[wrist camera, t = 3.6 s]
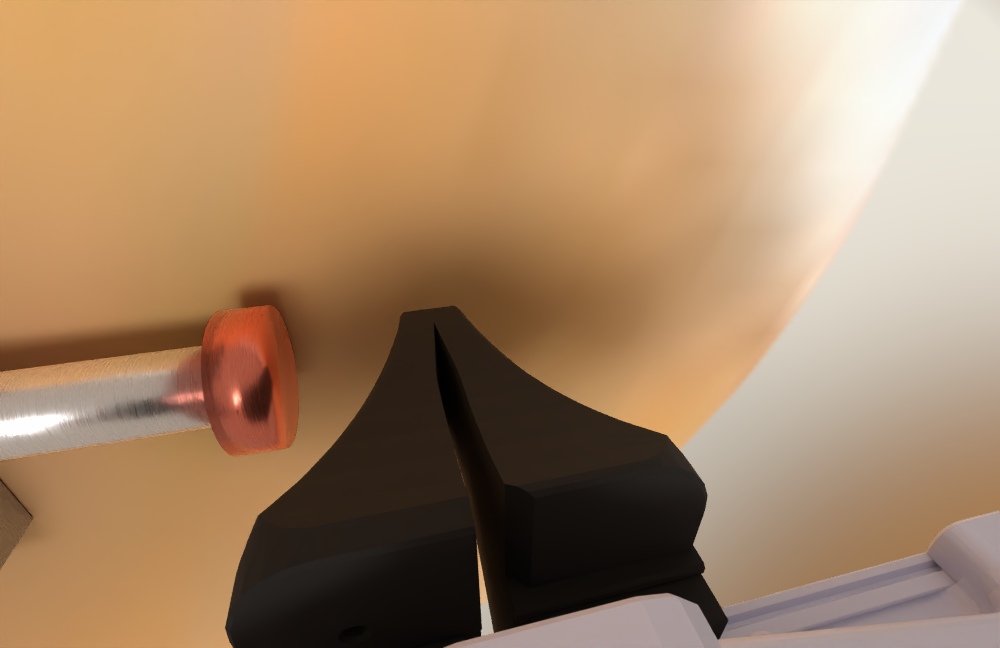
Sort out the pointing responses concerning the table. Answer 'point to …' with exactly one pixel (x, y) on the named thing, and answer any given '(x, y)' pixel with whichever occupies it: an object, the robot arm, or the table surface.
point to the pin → (162, 393)
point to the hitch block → (11, 522)
